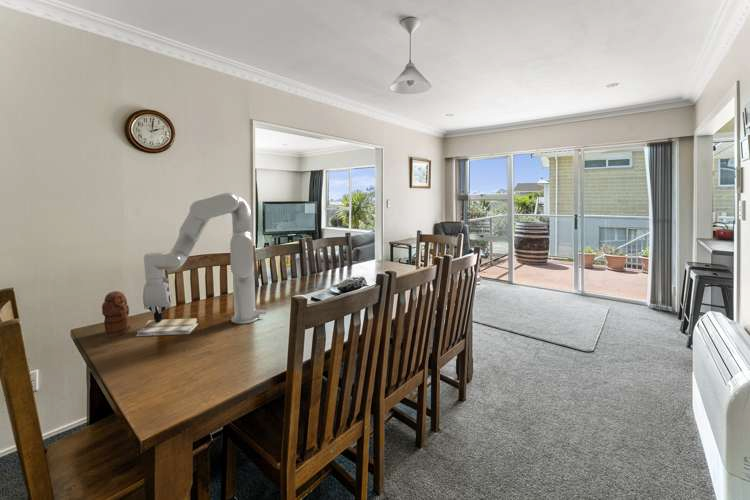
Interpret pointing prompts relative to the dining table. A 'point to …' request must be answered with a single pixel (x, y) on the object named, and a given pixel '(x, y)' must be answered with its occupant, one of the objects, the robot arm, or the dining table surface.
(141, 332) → the laid board
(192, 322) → the plank
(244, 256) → the robot arm
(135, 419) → the dining table surface
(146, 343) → the dining table surface
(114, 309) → the wooden figurine
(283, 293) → the dining table surface
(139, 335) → the underlay
